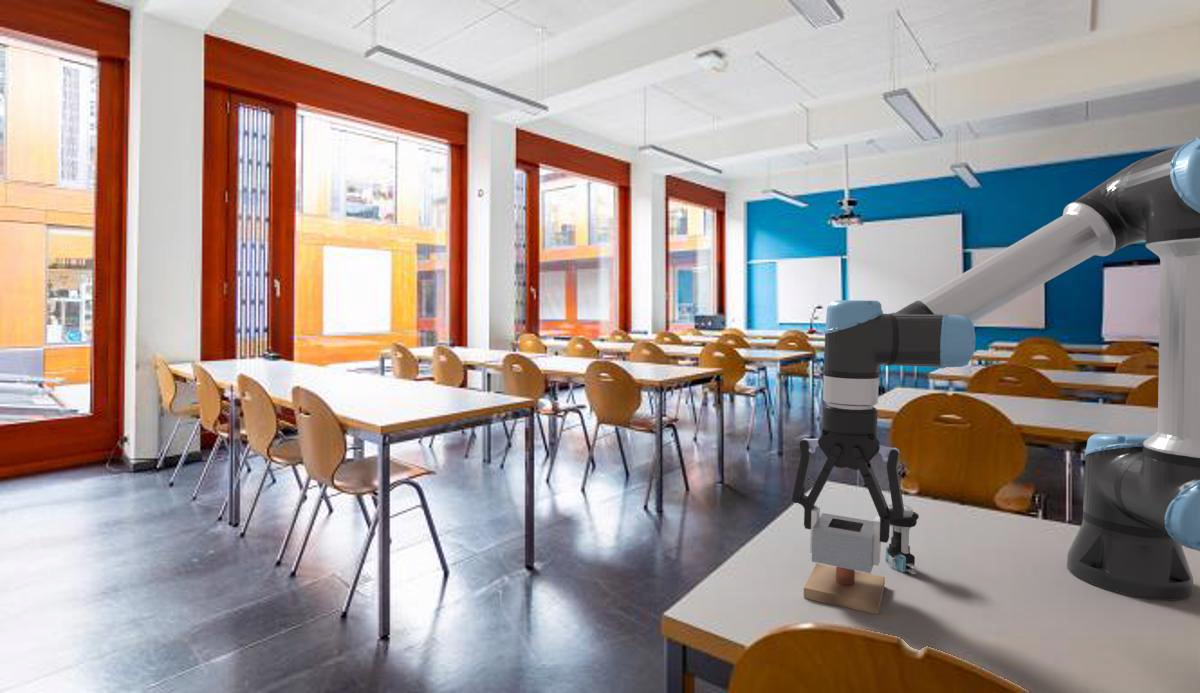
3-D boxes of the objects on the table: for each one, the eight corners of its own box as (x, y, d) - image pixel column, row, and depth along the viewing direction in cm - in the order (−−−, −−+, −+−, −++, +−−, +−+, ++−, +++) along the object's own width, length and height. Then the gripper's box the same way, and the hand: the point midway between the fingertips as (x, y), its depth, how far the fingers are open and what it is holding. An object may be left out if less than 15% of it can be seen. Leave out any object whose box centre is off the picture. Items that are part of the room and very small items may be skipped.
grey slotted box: (876, 554, 94) (877, 522, 94) (870, 573, 88) (872, 538, 87) (821, 543, 98) (822, 512, 98) (811, 561, 91) (812, 528, 91)
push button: (929, 576, 99) (931, 514, 98) (898, 578, 98) (900, 515, 98) (903, 559, 106) (905, 501, 105) (874, 561, 105) (876, 502, 104)
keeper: (884, 586, 95) (886, 535, 95) (877, 614, 86) (879, 557, 86) (816, 572, 100) (817, 523, 100) (803, 597, 91) (804, 544, 91)
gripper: (930, 407, 90) (924, 561, 91) (784, 396, 100) (780, 535, 101) (929, 415, 83) (922, 581, 85) (772, 402, 93) (768, 550, 95)
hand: (844, 555), depth 93 cm, fingers closed on grey slotted box, 8 cm apart
